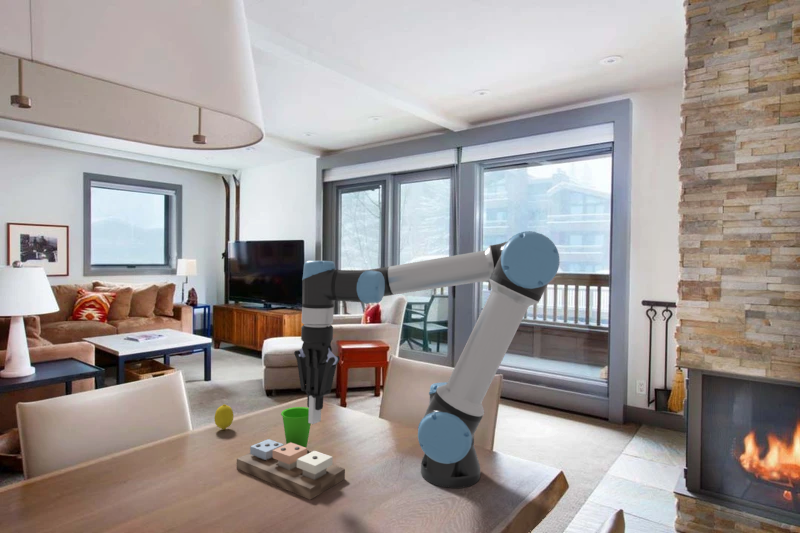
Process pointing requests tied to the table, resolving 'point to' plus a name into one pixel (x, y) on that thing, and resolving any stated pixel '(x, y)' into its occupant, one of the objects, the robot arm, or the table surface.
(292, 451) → the tile two
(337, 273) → the robot arm
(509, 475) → the table surface
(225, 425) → the lemon
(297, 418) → the cup
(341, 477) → the board
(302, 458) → the tile one
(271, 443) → the tile three
